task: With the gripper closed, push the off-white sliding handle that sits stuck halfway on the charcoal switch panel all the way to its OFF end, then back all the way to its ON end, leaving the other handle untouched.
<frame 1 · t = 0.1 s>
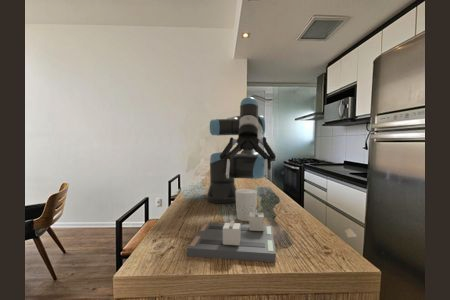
hand: (246, 177, 80), 15 cm above the countertop, tool tilted 35°, fingers open, 13 cm apart
tripped breaker: (231, 232, 58), point 5 cm above the countertop, slide at 0.0 cm
white cup: (246, 219, 84), on the countertop
switch panel: (234, 242, 63), on the countertop
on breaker: (256, 220, 67), point 5 cm above the countertop, slide at 6.0 cm
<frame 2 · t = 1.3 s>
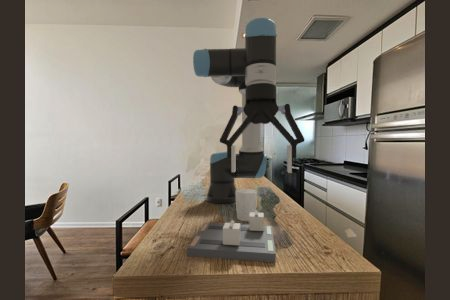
hand: (261, 172, 57), 20 cm above the countertop, tool pointing down, fingers open, 13 cm apart
nothing on the countertop moved.
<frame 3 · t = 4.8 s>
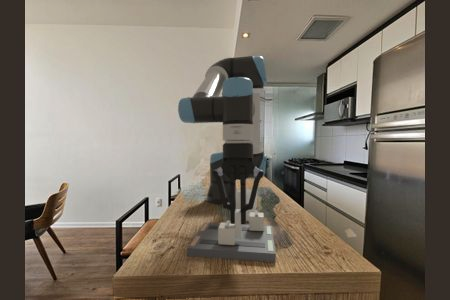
hand: (238, 236, 58), 4 cm above the countertop, tool pointing down, fingers closed
tripped breaker: (227, 232, 58), point 5 cm above the countertop, slide at -1.1 cm, touching gripper
everything else where it was.
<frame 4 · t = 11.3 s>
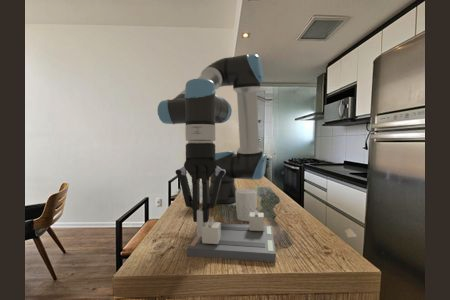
hand: (201, 234, 59), 4 cm above the countertop, tool pointing down, fingers closed
tripped breaker: (211, 231, 59), point 5 cm above the countertop, slide at -5.2 cm, touching gripper
everything else where it was.
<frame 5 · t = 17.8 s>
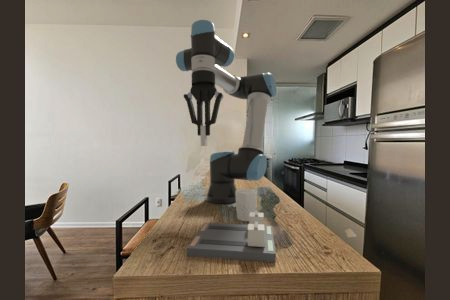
hand: (203, 145, 75), 26 cm above the countertop, tool pointing down, fingers closed
tripped breaker: (256, 233, 57), point 5 cm above the countertop, slide at 6.1 cm
everything else where it was.
at the end: tripped breaker slide at 6.1 cm; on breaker slide at 6.0 cm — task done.
